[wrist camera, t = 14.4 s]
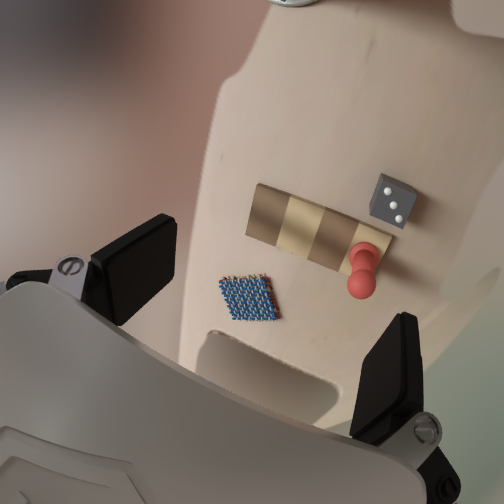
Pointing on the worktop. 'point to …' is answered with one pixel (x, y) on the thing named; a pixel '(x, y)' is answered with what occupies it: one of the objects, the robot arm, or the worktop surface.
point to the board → (310, 229)
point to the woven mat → (250, 298)
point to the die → (392, 201)
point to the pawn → (362, 270)
